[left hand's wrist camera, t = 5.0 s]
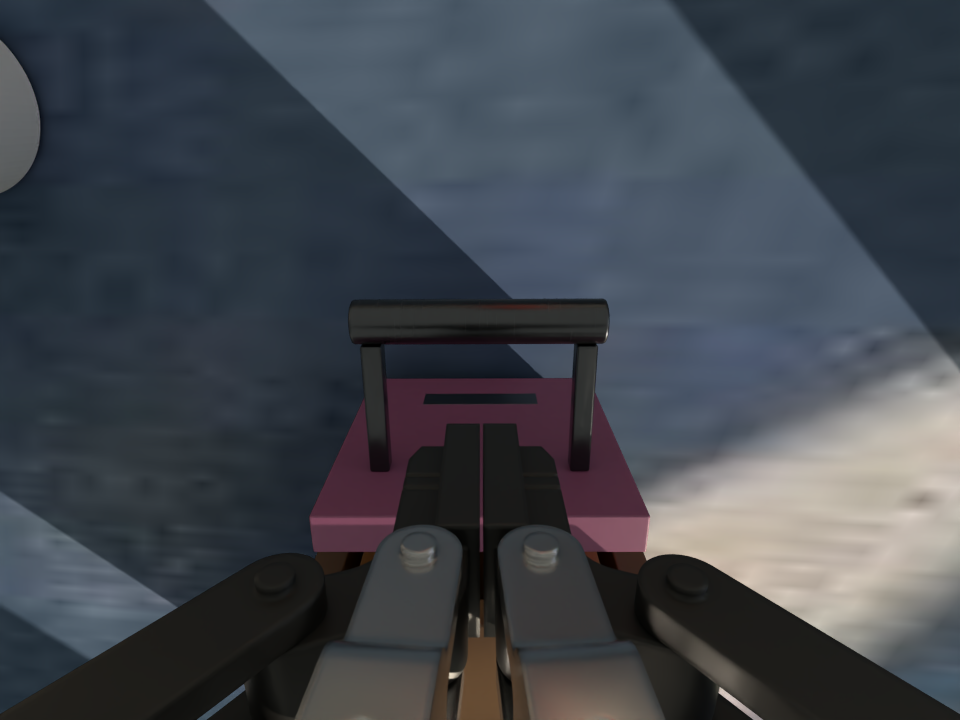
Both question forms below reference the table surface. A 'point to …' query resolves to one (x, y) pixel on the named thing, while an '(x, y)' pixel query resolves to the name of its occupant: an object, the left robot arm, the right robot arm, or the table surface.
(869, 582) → the table surface
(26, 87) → the coffee cup
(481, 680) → the cabinet
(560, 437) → the drawer
